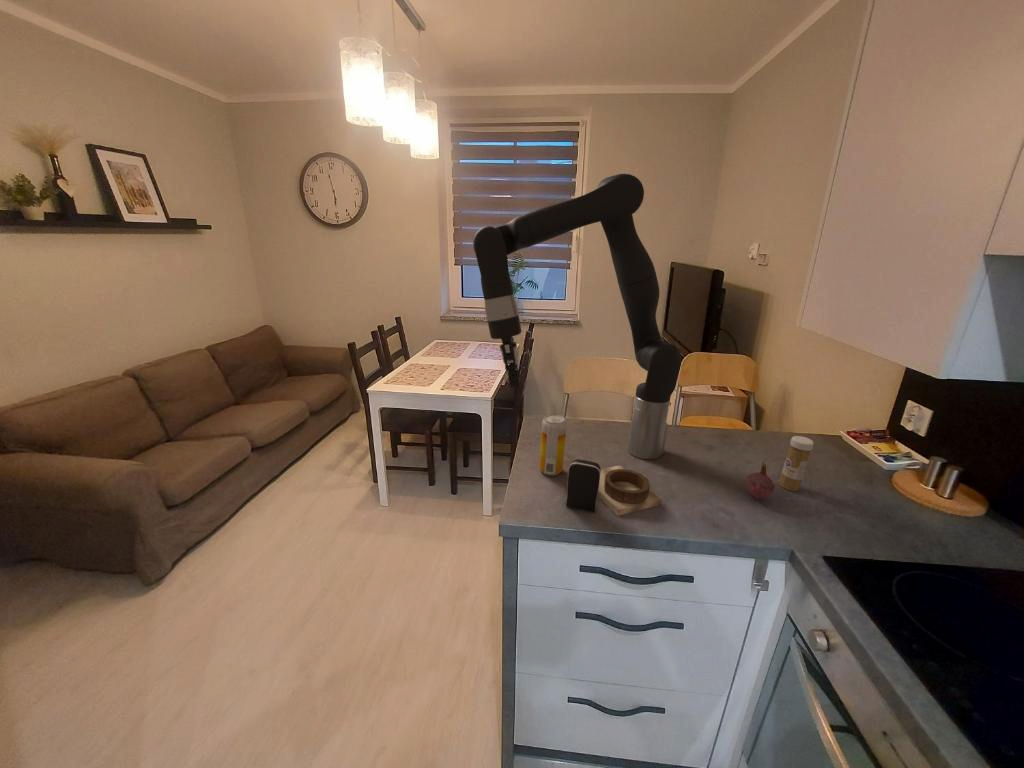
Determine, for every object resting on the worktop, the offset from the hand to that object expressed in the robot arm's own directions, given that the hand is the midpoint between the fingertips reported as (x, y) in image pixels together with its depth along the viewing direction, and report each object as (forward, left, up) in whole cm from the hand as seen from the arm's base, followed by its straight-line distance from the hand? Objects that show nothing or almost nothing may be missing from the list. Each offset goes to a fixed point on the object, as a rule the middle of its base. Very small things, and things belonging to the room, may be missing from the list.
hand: (515, 382), depth 100 cm
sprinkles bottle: (-64, +31, -25) cm, 75 cm away
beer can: (-9, +4, -25) cm, 27 cm away
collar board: (-21, +18, -24) cm, 37 cm away
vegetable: (-51, +32, -25) cm, 65 cm away
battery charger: (-9, +20, -25) cm, 33 cm away
